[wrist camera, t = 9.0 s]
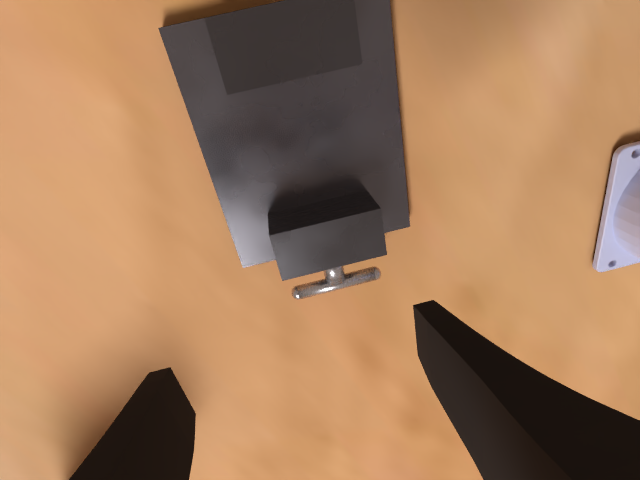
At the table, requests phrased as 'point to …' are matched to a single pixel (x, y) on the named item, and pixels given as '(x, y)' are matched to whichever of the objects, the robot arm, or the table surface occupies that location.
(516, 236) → the table surface
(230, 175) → the vise
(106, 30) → the table surface
